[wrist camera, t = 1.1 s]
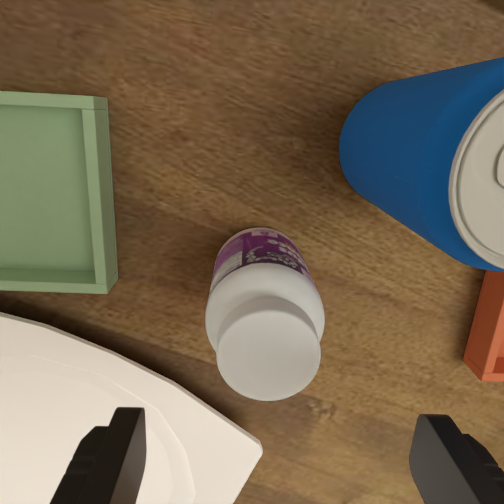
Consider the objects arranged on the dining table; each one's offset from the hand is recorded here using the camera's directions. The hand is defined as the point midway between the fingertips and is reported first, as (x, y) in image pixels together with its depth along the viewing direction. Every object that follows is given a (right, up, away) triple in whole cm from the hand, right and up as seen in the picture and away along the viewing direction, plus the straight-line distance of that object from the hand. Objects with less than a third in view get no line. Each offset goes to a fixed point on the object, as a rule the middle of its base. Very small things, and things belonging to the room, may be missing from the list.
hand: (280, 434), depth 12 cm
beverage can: (+7, +11, +10) cm, 17 cm away
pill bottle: (0, +4, +13) cm, 13 cm away
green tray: (-14, +9, +11) cm, 19 cm away
